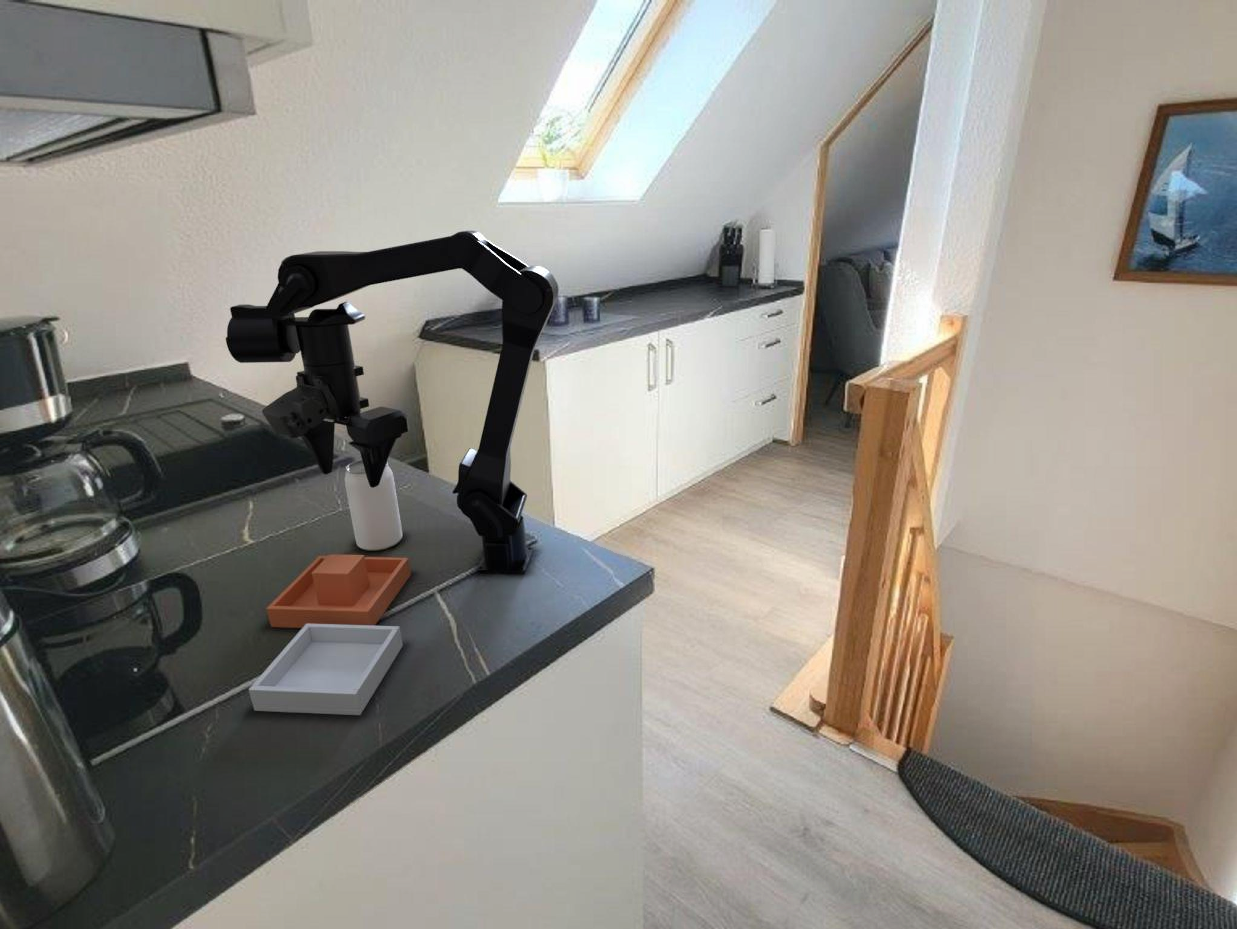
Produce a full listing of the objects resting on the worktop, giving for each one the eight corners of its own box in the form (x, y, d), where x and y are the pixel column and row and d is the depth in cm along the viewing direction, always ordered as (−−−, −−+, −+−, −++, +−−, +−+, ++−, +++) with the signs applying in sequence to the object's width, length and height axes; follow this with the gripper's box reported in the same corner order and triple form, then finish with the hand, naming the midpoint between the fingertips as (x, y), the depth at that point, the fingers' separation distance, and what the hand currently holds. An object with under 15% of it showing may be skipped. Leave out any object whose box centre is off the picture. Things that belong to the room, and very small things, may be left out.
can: (408, 530, 98) (396, 456, 94) (396, 551, 92) (383, 473, 88) (365, 531, 98) (351, 457, 94) (350, 553, 92) (334, 474, 88)
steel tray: (310, 642, 73) (306, 623, 72) (403, 645, 72) (399, 626, 71) (254, 711, 63) (248, 689, 62) (360, 715, 62) (355, 694, 61)
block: (336, 584, 83) (329, 554, 82) (370, 585, 83) (364, 554, 81) (318, 604, 79) (311, 572, 77) (354, 606, 79) (347, 573, 77)
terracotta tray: (322, 572, 87) (319, 555, 86) (411, 574, 86) (408, 557, 85) (270, 627, 76) (266, 608, 75) (371, 630, 75) (368, 611, 74)
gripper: (218, 367, 77) (248, 488, 83) (319, 385, 68) (345, 519, 74) (303, 349, 86) (324, 460, 91) (402, 363, 77) (419, 485, 83)
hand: (350, 479), depth 85 cm, fingers open, 9 cm apart
